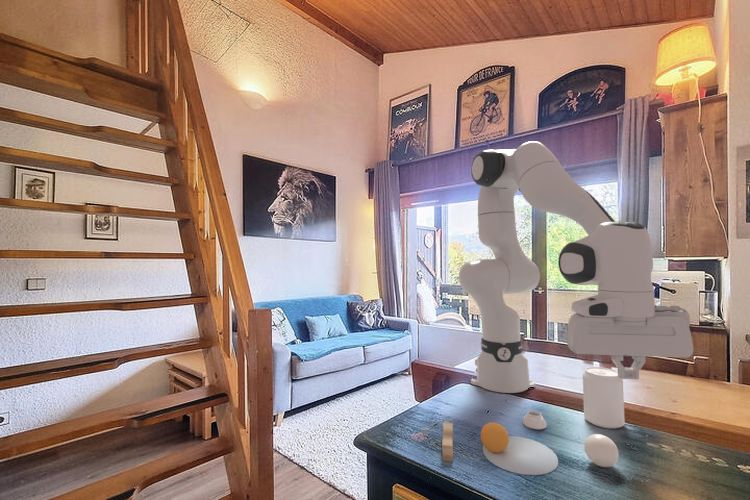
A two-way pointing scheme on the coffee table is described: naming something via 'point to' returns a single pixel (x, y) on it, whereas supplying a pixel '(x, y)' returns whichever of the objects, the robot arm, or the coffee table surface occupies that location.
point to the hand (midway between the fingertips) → (628, 378)
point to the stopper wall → (447, 442)
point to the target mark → (524, 457)
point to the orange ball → (494, 437)
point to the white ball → (601, 450)
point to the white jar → (534, 420)
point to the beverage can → (603, 397)
